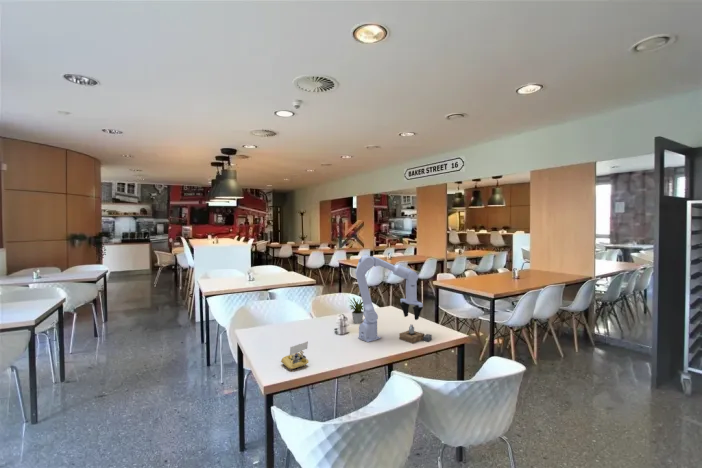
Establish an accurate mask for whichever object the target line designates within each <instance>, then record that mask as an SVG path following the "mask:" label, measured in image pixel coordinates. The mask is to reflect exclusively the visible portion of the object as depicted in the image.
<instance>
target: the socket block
mask: <svg viewBox="0 0 702 468" xmlns="http://www.w3.org/2000/svg"><path fill="white" fill-rule="evenodd" d="M424 336H425V334H424V333H422V332H419V331H416V330H414V335H409V330H406V331H402V332H400V333H399V340H401V341H403V342H406V343H410V344H412V345H413V344H416V343H419V342H421V341H422V342H423V337H424Z"/></svg>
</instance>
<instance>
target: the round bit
mask: <svg viewBox="0 0 702 468" xmlns="http://www.w3.org/2000/svg"><path fill="white" fill-rule="evenodd" d="M408 331H409V335H414V331H415V326H414V325H413V324H410V326H409V327H408Z"/></svg>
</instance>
